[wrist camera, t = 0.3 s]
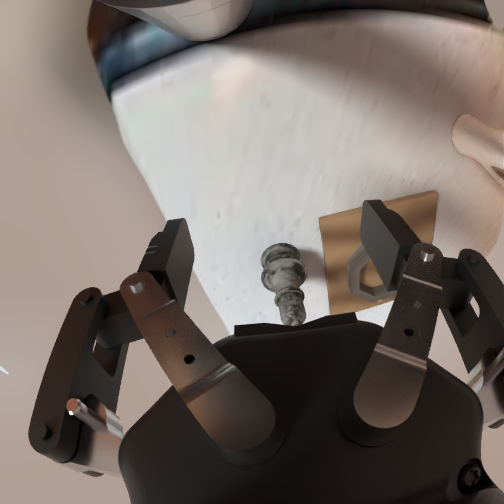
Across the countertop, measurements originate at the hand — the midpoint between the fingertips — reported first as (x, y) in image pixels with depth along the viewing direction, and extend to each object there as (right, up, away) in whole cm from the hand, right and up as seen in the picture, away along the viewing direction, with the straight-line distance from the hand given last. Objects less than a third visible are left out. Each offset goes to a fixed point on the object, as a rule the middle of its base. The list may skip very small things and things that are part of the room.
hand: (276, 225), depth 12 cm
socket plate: (+18, -2, +27) cm, 33 cm away
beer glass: (+28, +15, +15) cm, 35 cm away
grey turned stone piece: (+3, -2, +26) cm, 26 cm away
